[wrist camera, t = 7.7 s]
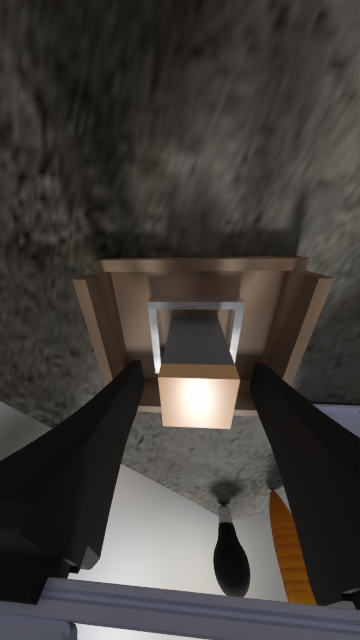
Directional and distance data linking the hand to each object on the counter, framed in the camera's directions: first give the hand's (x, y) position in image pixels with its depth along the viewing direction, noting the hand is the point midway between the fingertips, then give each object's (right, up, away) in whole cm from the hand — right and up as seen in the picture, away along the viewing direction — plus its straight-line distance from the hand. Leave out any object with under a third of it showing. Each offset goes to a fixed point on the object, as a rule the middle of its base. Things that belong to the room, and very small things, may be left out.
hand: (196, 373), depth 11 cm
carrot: (+16, -28, +19) cm, 37 cm away
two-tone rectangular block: (0, +2, +5) cm, 5 cm away
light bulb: (+8, -35, +23) cm, 42 cm away
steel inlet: (0, +2, +5) cm, 6 cm away
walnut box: (0, +2, +5) cm, 6 cm away
